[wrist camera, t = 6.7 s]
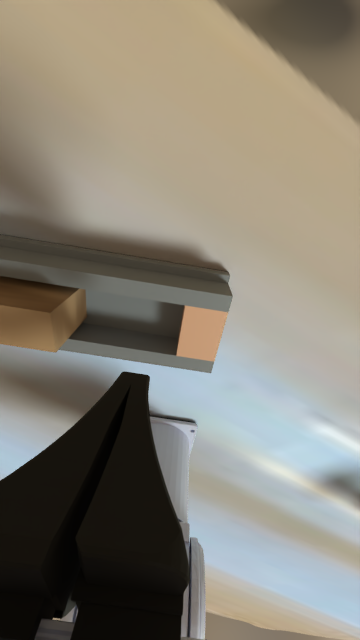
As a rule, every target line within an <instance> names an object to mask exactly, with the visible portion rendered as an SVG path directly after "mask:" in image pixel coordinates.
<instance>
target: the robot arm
mask: <svg viewBox="0 0 360 640" xmlns="http://www.w3.org/2000/svg"><path fill="white" fill-rule="evenodd" d="M149 381H150V377H149V376H148V375H144V374H137V373H131V372H122V373H121V374H120V376H119V377H118V378H117V380H116V381H115V382H114V384H113V385H112V386H111V387H110V388H109V390H108V391H107V392H106V393H105V394H104V395H103V396H102V398H101V399H100V400H99V401H98V402H97V403H96V404H95V405H94V406H93V407H92V408H91V409H90V410H89V411H88V412H87V413H86V414H85V415H84V416H83V417H82V418H81V419H80V420H79V421H78V422H77V423H76V424H75V425H74V426H73V427H71V428H70V429H69V430H68V431H67V432H66V433H64V434H63V435H62V436H61V437H60V438H59V439H57V440H56V441H55V442H54V443H52V444H51V445H50V446H49V447H47V448H46V449H45V450H43V451H42V452H41V453H39V454H38V455H37V456H35V457H34V458H33V459H31V460H30V461H28V462H27V463H26V464H24V465H23V466H21V467H20V468H18V469H17V470H16V471H14V472H13V473H11V474H10V475H8V476H7V477H5V478H4V479H2V480H1V481H0V640H205V567H204V554H203V549H202V547H201V545H200V544H199V543H198V540H197V538H194V537H190V545H189V523H188V482H189V456H190V453H191V449H192V446H193V443H194V439H195V436H196V432H197V429H198V426H197V424H196V423H191V422H184V421H178V420H171V419H164V418H157V417H151V416H150V414H149V404H148V390H149ZM53 618H60V621H59V620H52V619H53Z"/></svg>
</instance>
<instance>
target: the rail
mask: <svg viewBox="0 0 360 640" xmlns="http://www.w3.org/2000/svg"><path fill="white" fill-rule="evenodd" d="M0 276H4V277H11V278H17V279H23V280H29V281H36V282H42V283H48V284H54V285H61V286H67V287H73V288H79V289H85V290H86V309H87V317H86V319H85V320H84V321H83V322H82V323H81V324H80V325H79V327H78V328H77V329H76V330H75V331H74V332H73V333H72V335H71V336H70V337H69V338H68V339H67V340H66V342H65V343H64V344H63V345H62V346H61V347H60V348H59V350H64V351H71V352H77V353H84V354H90V355H97V356H103V357H110V358H116V359H123V360H129V361H136V362H142V363H149V364H155V365H162V366H168V367H174V368H181V369H187V370H194V371H200V372H207V373H211V371H212V368H213V364H214V360H215V357H216V353H217V350H218V346H219V343H220V339H221V336H222V332H223V329H224V325H225V322H226V318H227V315H228V311H229V308H230V304H231V301H232V297H233V296H232V293H231V290H230V288H229V285H228V282H229V278H230V275H229V272H226V271H220V270H214V269H208V268H202V267H196V266H189V265H183V264H177V263H171V262H165V261H159V260H153V259H147V258H141V257H135V256H128V255H122V254H116V253H110V252H104V251H98V250H92V249H86V248H80V247H74V246H67V245H61V244H55V243H49V242H43V241H37V240H31V239H25V238H19V237H13V236H6V235H0Z"/></svg>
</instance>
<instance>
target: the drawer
mask: <svg viewBox="0 0 360 640" xmlns="http://www.w3.org/2000/svg"><path fill="white" fill-rule="evenodd" d="M86 317H87V309H86V290H85V289H79V288H73V287H67V286H61V285H54V284H48V283H42V282H36V281H29V280H23V279H17V278H11V277H4V276H0V344H5V345H11V346H17V347H24V348H30V349H37V350H43V351H49V352H57V351H58V350H59V348H60V347H61V346H62V345H63V344H64V343H65V342H66V340H67V339H68V338H69V337H70V336H71V335H72V333H73V332H74V331H75V330H76V329H77V328H78V327H79V325H80V324H81V323H82V322H83V321H84V320H85V319H86Z"/></svg>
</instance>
